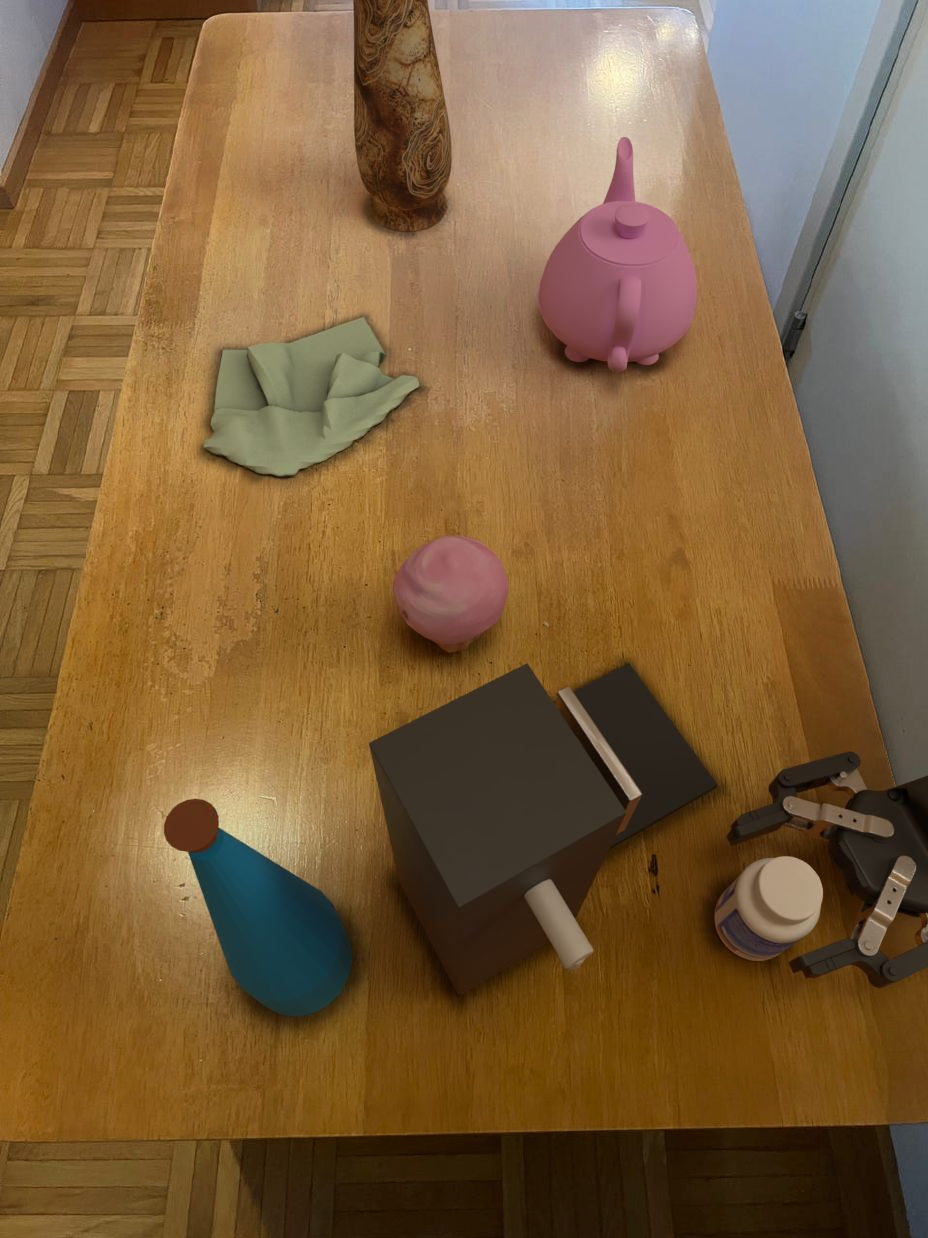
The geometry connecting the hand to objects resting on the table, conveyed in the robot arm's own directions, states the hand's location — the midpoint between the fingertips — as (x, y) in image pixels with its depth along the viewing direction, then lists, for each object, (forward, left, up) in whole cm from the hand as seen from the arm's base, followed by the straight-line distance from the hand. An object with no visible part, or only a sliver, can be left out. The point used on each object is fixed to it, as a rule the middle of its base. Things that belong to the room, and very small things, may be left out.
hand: (761, 900), depth 60 cm
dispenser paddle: (+10, +8, +9) cm, 16 cm away
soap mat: (+15, +1, -8) cm, 17 cm away
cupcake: (+31, +6, -8) cm, 32 cm away
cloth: (+61, +5, -8) cm, 61 cm away
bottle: (+13, +28, -8) cm, 32 cm away
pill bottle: (0, -1, -8) cm, 8 cm away
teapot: (+55, -26, -8) cm, 61 cm away
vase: (+82, -16, -8) cm, 84 cm away
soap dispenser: (+8, +15, -8) cm, 18 cm away
